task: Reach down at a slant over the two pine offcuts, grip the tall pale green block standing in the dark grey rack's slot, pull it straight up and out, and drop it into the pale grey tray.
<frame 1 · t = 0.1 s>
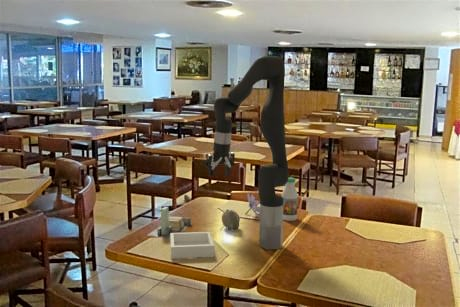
hand: (218, 175, 217), 22 cm above the table, tool pointing down, fingers open, 8 cm apart
tray: (191, 250, 185), on the table
offcut bottom: (172, 227, 210), point 1 cm above the table, touching offcut top, rack
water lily: (255, 216, 233), on the table
milk bottle: (288, 219, 229), on the table
rack: (169, 231, 207), on the table
offcut top: (172, 223, 209), point 3 cm above the table, touching offcut bottom
pale green block: (164, 233, 202), point 1 cm above the table, touching rack
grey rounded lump: (230, 229, 213), on the table
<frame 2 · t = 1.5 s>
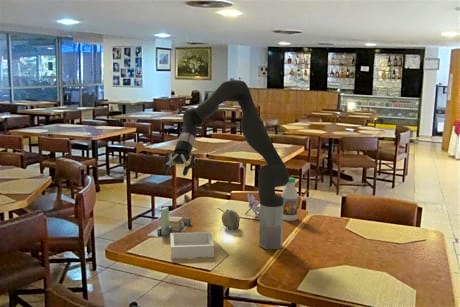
hand: (174, 174, 209), 24 cm above the table, tool tilted 45°, fingers open, 8 cm apart
nothing on the table moved.
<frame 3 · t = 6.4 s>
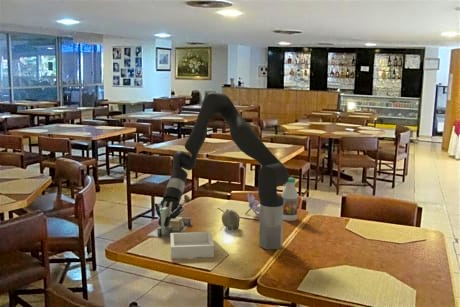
hand: (162, 225, 199), 5 cm above the table, tool tilted 45°, fingers closed on pale green block, 1 cm apart
pale green block: (164, 233, 202), point 1 cm above the table, touching gripper, rack
everything else where it was.
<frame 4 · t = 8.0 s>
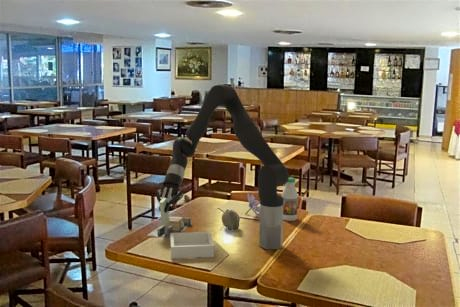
hand: (162, 211, 198), 11 cm above the table, tool tilted 45°, fingers closed on pale green block, 1 cm apart
pale green block: (165, 223, 202), point 5 cm above the table, tilted 14°, touching gripper
everything else where it was.
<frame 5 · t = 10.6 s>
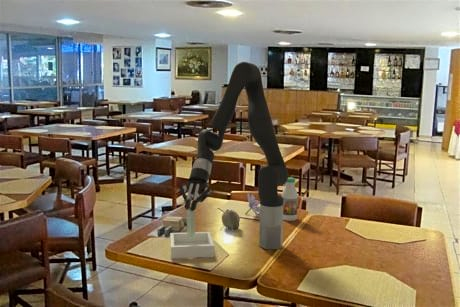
hand: (189, 209, 181), 17 cm above the table, tool tilted 45°, fingers closed on pale green block, 1 cm apart
pale green block: (191, 234, 185), point 6 cm above the table, tilted 6°, touching gripper
everything else where it was.
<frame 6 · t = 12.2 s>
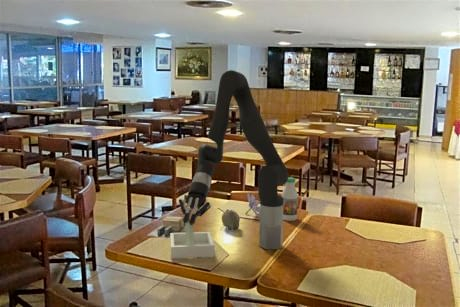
hand: (188, 223, 181), 12 cm above the table, tool tilted 45°, fingers closed on pale green block, 1 cm apart
pale green block: (190, 247, 185), point 1 cm above the table, tilted 9°, touching gripper, tray
everything else where it was.
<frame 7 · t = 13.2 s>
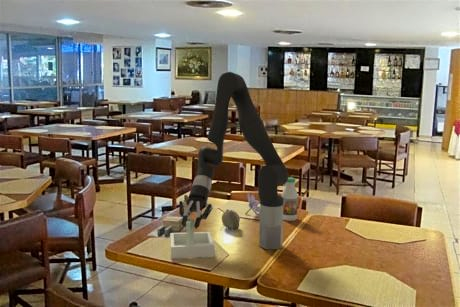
hand: (189, 226, 182), 10 cm above the table, tool tilted 45°, fingers open, 4 cm apart
pale green block: (190, 247, 185), point 1 cm above the table, touching tray
everything else where it was.
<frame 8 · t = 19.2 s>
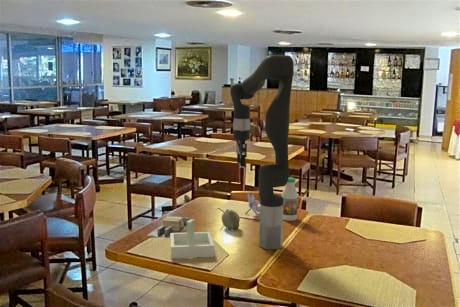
hand: (241, 164, 214), 28 cm above the table, tool pointing down, fingers open, 8 cm apart
nothing on the table moved.
at the end: pale green block inside the target area on the tray (0.4 cm from its centre), point 1.0 cm above the tray's base; the gripper is holding nothing; offcut top moved 0.0 cm from its start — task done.
